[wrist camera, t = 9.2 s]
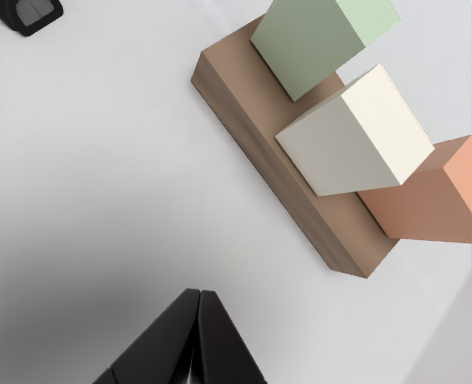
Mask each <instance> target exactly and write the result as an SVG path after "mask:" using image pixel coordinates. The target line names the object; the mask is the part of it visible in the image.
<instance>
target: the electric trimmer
mask: <svg viewBox="0 0 472 384" xmlns="http://www.w3.org/2000/svg"><path fill="white" fill-rule="evenodd" d="M62 14H63V7H62V5H61V3H60V1H59V0H0V19H1V20H2V21H3V22H5V23H6V24H7V25H8V26H9V27H10V28H11V29H13V30H14V31H19V32H20V33H21V34H23V35H25V36H30V35H32V34H34V33H35V32H37V31H39V30H40V29H42V28H43V27H45V26H47V25H48V24H50V23H51V22H53V21H55V20H56V19H58V18H59V17H61V16H62Z"/></svg>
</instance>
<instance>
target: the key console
mask: <svg viewBox="0 0 472 384" xmlns="http://www.w3.org/2000/svg"><path fill="white" fill-rule="evenodd" d="M265 14H266V13H265ZM265 14H264V15H262V16H260V17H259V18H257V19H255V20H253V21H252V22H250V23H248V24H247V25H245V26H243V27H242V28H240V29H238V30H237V31H235V32H233V33H232V34H230V35H228V36H227V37H225V38H223V39H222V40H220V41H218V42H216V43H215V44H213V45H211V46H210V47H208V48H206V49H205V50H203V51H202V52H201V54H200V57H199V60H198V62H197V65H196V68H195V71H194V73H193V76H192V79H191V82H192V83H193V84H194V86H195V87H196V88H197V90H198V91H199V92H200V94H201V95H202V97H203V98H204V99H205V101H206V102H207V103H208V105H209V106H210V107H211V109H212V110H213V111H214V113H215V114H216V115H217V117H218V118H219V119H220V121H221V122H222V123H223V125H224V126H225V127H226V129H227V130H228V131H229V133H230V134H231V136H232V137H233V138H234V140H235V141H236V142H237V144H238V145H239V146H240V148H241V149H242V150H243V152H244V153H245V154H246V156H247V157H248V158H249V160H250V161H251V162H252V164H253V165H254V166H255V168H256V169H257V170H258V172H259V173H260V174H261V176H262V177H263V179H264V180H265V181H266V183H267V184H268V185H269V187H270V188H271V189H272V191H273V192H274V193H275V195H276V196H277V197H278V199H279V200H280V201H281V203H282V204H283V205H284V207H285V208H286V209H287V211H288V212H289V213H290V215H291V216H292V218H293V219H294V220H295V222H296V223H297V224H298V226H299V227H300V228H301V230H302V231H303V232H304V234H305V235H306V236H307V238H308V239H309V240H310V242H311V243H312V244H313V246H314V247H315V248H316V250H317V251H318V252H319V254H320V255H321V257H322V258H323V259H324V261H325V262H326V263H327V265H328V266H329V267H330V269H331V270H335V271H339V272H343V273H346V274H350V275H354V276H358V277H362V278H366V279H367V278H368V277H369V276H370V274H371V273H372V272H373V271H374V270H375V268H376V267H377V266H378V265H379V264H380V263H381V261H382V260H383V259H384V258H385V257H386V255H387V254H388V253H389V252H390V251H391V249H392V248H393V247H394V246H395V245H396V244H397V242H398V241H399V240H400V239H399V238H389V237H388V236H387V234H386V233H385V231H384V230H383V229H382V227H381V226H380V224H379V223H378V221H377V220H376V219H375V217H374V216H373V214H372V213H371V211H370V210H369V208H368V207H367V206H366V204H365V203H364V201H363V200H362V198H361V197H360V196H359V194H358V193H357V191H355V192H348V193H341V194H333V195H326V196H317V194H316V193H315V192H314V190H313V189H312V188H311V186H310V185H309V183H308V182H307V181H306V179H305V178H304V176H303V175H302V174H301V172H300V171H299V169H298V168H297V167H296V165H295V164H294V163H293V161H292V160H291V158H290V157H289V156H288V154H287V153H286V151H285V150H284V149H283V147H282V146H281V145H280V143H279V142H278V140H277V139H276V138H275V136H276V135H277V134H278V133H279V132H281V131H282V130H283V129H284V128H286V127H287V126H288V125H290V124H291V123H292V122H293V121H295V120H296V119H297V118H298V117H300V116H301V115H302V114H303V113H305V112H306V111H308V110H309V109H311V108H312V107H314V106H315V105H317V104H318V103H320V102H321V101H323V100H324V99H326V98H328V97H329V96H331V95H332V94H334V93H335V92H337V91H338V90H340V89H341V88H343V87H344V86H345V85H344V84H343V82H342V81H341V79H340V78H339V76H338V75H337V73H336V72H335V71H334V72H333V73H331V74H330V75H329V76H327V77H326V78H325V79H324V80H322V81H321V82H320V83H318V84H317V85H316V86H314V87H313V88H312V89H310V90H309V91H308V92H307V93H305V94H304V95H303V96H301V97H300V98H299V99H297V100H296V101H295V102H294V101H293V100H292V98H291V97H290V95H289V94H288V92H287V91H286V90H285V88H284V87H283V85H282V84H281V82H280V81H279V80H278V78H277V77H276V75H275V74H274V72H273V71H272V70H271V68H270V67H269V65H268V64H267V62H266V61H265V59H264V58H263V57H262V55H261V54H260V52H259V51H258V49H257V48H256V47H255V45H254V44H253V42H252V41H251V39H250V38H251V37H252V35H253V34H254V32H255V30H256V29H257V27H258V25H259V24H260V22H261V20H262V19H263V17H264V16H265Z"/></svg>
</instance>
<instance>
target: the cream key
mask: <svg viewBox="0 0 472 384" xmlns="http://www.w3.org/2000/svg"><path fill="white" fill-rule="evenodd" d="M275 138H276V139H277V140H278V142H279V143H280V145H281V146H282V147H283V149H284V150H285V151H286V153H287V154H288V156H289V157H290V158H291V160H292V161H293V163H294V164H295V165H296V167H297V168H298V169H299V171H300V172H301V174H302V175H303V176H304V178H305V179H306V181H307V182H308V183H309V185H310V186H311V188H312V189H313V190H314V192H315V193H316V194H317V196H326V195H333V194H341V193H348V192H355V191H363V190H370V189H378V188H385V187H392V186H400V185H402V184H403V183H404V182H405V181H406V179H407V178H408V177H409V176H410V175H411V174H412V173H413V172H414V171H415V170H416V169H417V168H418V166H419V165H420V164H421V163H422V162H423V161H424V160H425V159H426V158H427V157H428V156H429V155H430V153H431V152H432V151H433V150H434V149H435V148H434V147H433V145H432V144H431V142H430V140H429V139H428V137H427V136H426V134H425V133H424V131H423V130H422V128H421V126H420V125H419V123H418V122H417V120H416V119H415V117H414V115H413V114H412V112H411V111H410V109H409V108H408V106H407V104H406V103H405V101H404V100H403V98H402V97H401V95H400V94H399V92H398V90H397V89H396V87H395V86H394V84H393V83H392V81H391V79H390V78H389V76H388V75H387V73H386V72H385V70H384V69H383V67H382V65H381V64H380V63H379V64H378V65H376V66H375V67H373V68H372V69H370V70H369V71H367V72H366V73H364V74H363V75H361V76H360V77H358V78H357V79H355V80H354V81H352V82H350V83H349V84H347V85H346V86H344V87H343V88H341V89H340V90H338V91H337V92H335V93H334V94H332V95H331V96H329V97H328V98H326V99H324V100H323V101H321V102H320V103H318V104H317V105H315V106H314V107H312V108H311V109H309V110H308V111H306V112H305V113H303V114H302V115H301V116H300V117H298V118H297V119H296V120H295V121H293V122H292V123H291V124H290V125H288V126H287V127H286V128H284V129H283V130H282V131H281V132H279V133H278V134H277V135H276V136H275Z"/></svg>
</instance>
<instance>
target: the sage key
mask: <svg viewBox="0 0 472 384" xmlns="http://www.w3.org/2000/svg"><path fill="white" fill-rule="evenodd" d="M399 21H401V19H400V17H399V15H398V14H397V12H396V10H395V9H394V7H393V6H392V4H391V2H390V1H389V0H274V1H273V2H272V4H271V6H270V7H269V9H268V11H267V12H266V14H265V16H264V17H263V19H262V20H261V22H260V24H259V25H258V27H257V29H256V30H255V32H254V34H253V35H252V37H251V38H250V39H251V41H252V42H253V44H254V45H255V47H256V48H257V49H258V51H259V52H260V54H261V55H262V57H263V58H264V59H265V61H266V62H267V64H268V65H269V67H270V68H271V70H272V71H273V72H274V74H275V75H276V77H277V78H278V80H279V81H280V82H281V84H282V85H283V87H284V88H285V90H286V91H287V92H288V94H289V95H290V97H291V98H292V100H293V101H294V102H295V101H296V100H297V99H299V98H300V97H301V96H303V95H304V94H305V93H307V92H308V91H309V90H310V89H312V88H313V87H314V86H316V85H317V84H318V83H320V82H321V81H322V80H324V79H325V78H326V77H327V76H329V75H330V74H331V73H333V72H334V71H335V70H337V69H338V68H339V67H341V66H342V65H343V64H344V63H346V62H347V61H348V60H350V59H351V58H352V57H354V56H355V55H356V54H358V53H359V52H360V51H361V50H363V49H364V48H365V47H367V46H368V45H369V44H371V43H372V42H373V41H375V40H376V39H377V38H378V37H380V36H381V35H382V34H384V33H385V32H386V31H388V30H389V29H390V28H391V27H393V26H394V25H395V24H397V23H398V22H399Z"/></svg>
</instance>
